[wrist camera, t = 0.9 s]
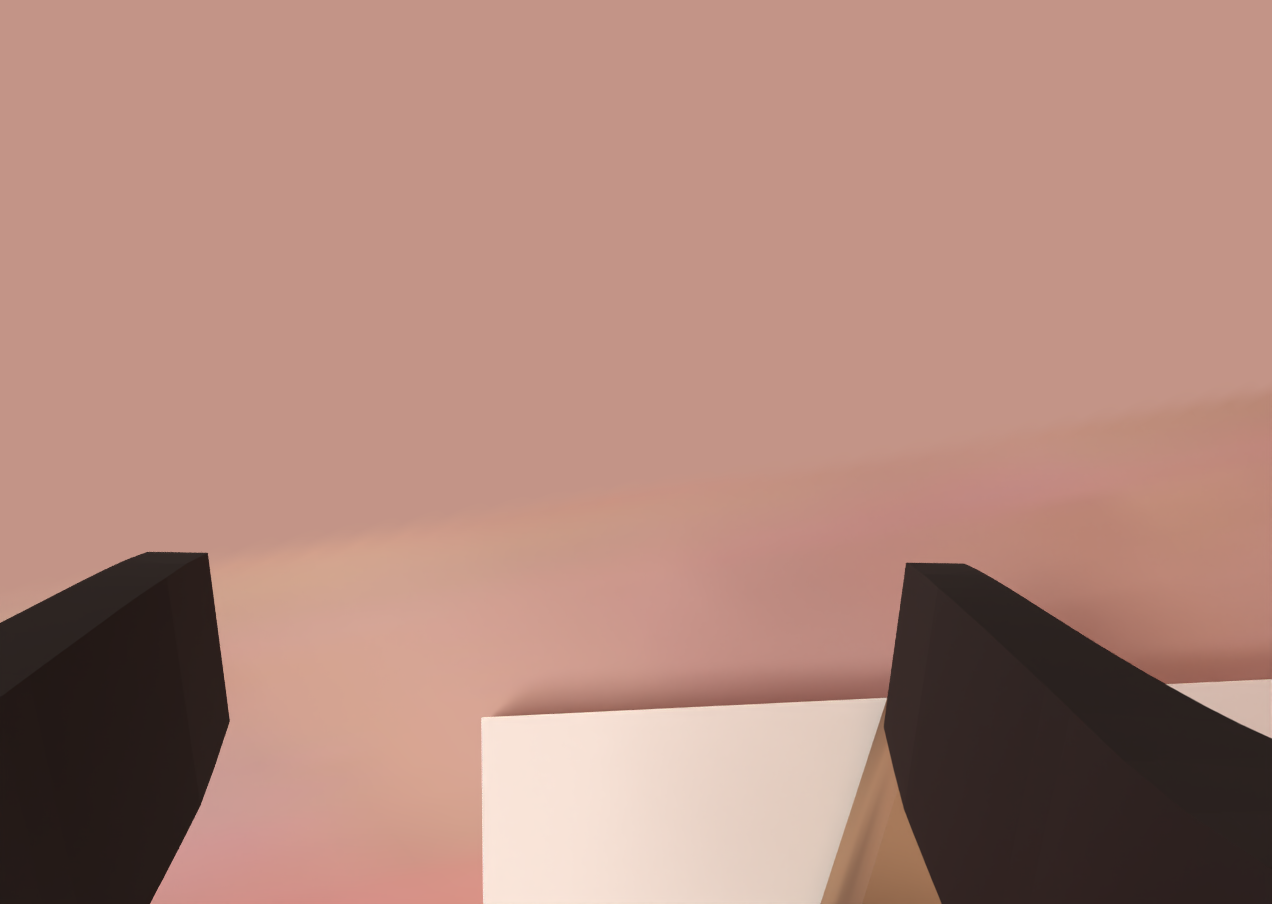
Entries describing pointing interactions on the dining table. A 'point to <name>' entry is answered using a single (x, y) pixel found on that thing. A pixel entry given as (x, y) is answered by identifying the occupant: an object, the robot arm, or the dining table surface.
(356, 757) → the dining table surface
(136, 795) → the robot arm
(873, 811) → the walnut link
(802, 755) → the white plate
